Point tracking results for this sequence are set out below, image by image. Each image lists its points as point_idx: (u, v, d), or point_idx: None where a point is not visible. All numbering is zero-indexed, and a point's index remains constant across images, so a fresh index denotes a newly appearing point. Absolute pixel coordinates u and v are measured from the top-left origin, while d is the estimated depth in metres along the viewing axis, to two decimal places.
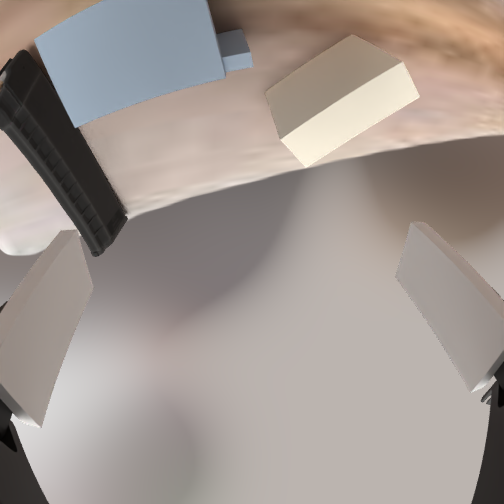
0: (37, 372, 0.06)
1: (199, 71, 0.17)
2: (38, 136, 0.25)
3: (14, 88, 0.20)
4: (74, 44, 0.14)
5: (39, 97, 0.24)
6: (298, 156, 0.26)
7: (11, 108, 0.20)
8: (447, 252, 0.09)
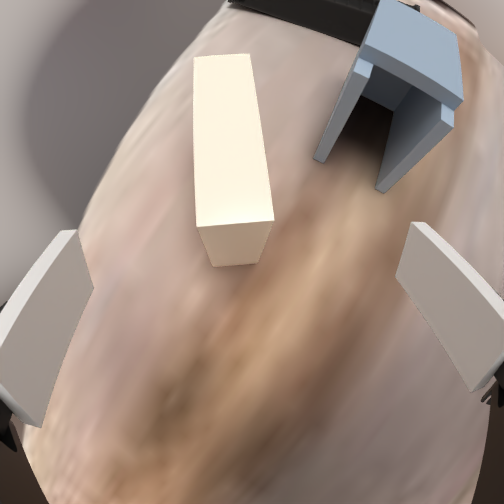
0: (37, 372, 0.06)
1: (379, 39, 0.17)
2: (367, 7, 0.28)
3: None
4: (439, 34, 0.18)
5: None
6: (214, 57, 0.18)
7: None
8: (447, 252, 0.09)
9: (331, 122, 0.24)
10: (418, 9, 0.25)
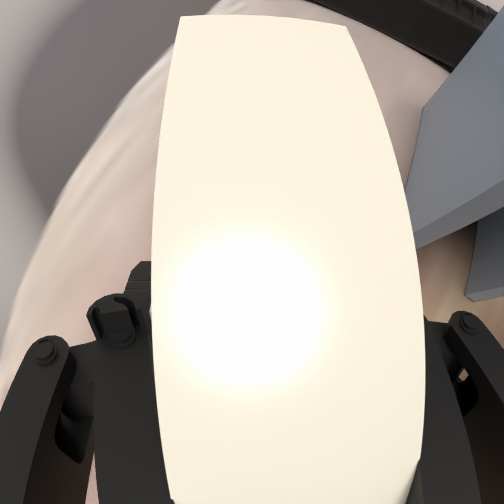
0: None
1: None
2: (449, 5, 0.16)
3: None
4: None
5: (465, 47, 0.19)
6: (245, 18, 0.05)
7: None
8: None
9: (457, 210, 0.11)
10: None
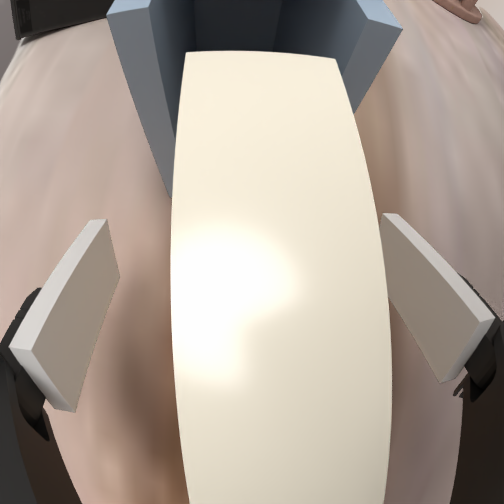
0: (72, 356, 0.07)
1: None
2: None
3: None
4: None
5: None
6: (244, 55, 0.07)
7: None
8: (416, 242, 0.10)
9: (149, 136, 0.12)
10: None
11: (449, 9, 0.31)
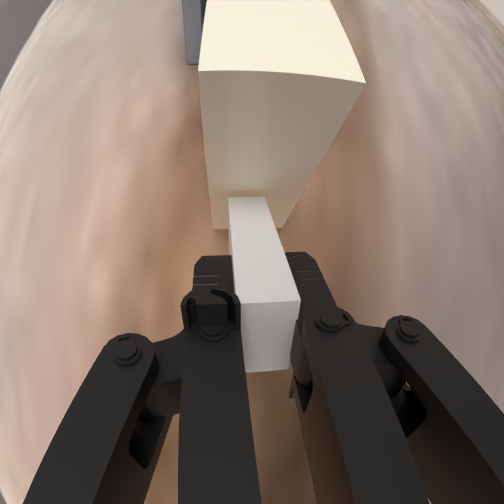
0: None
1: None
2: None
3: None
4: None
5: None
6: None
7: None
8: (258, 221, 0.10)
9: None
10: None
11: None
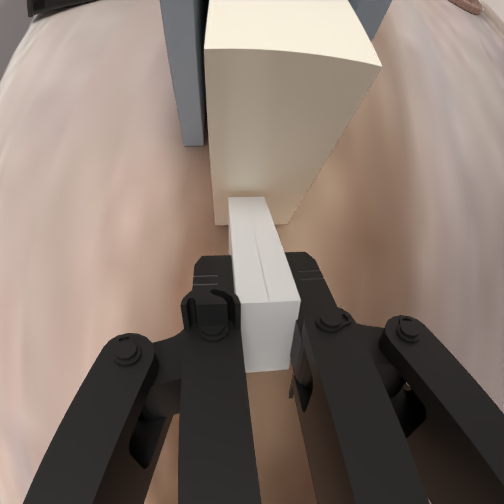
0: None
1: None
2: None
3: None
4: None
5: None
6: None
7: None
8: (257, 221, 0.10)
9: (173, 71, 0.11)
10: None
11: (450, 0, 0.30)
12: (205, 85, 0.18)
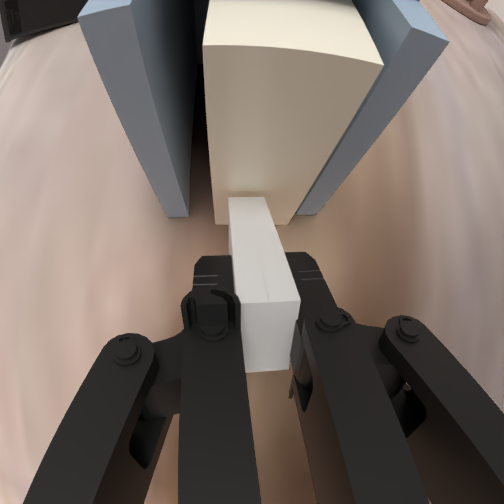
0: None
1: None
2: None
3: None
4: None
5: None
6: None
7: None
8: (258, 221, 0.10)
9: (141, 158, 0.10)
10: None
11: (458, 10, 0.29)
12: (189, 141, 0.17)
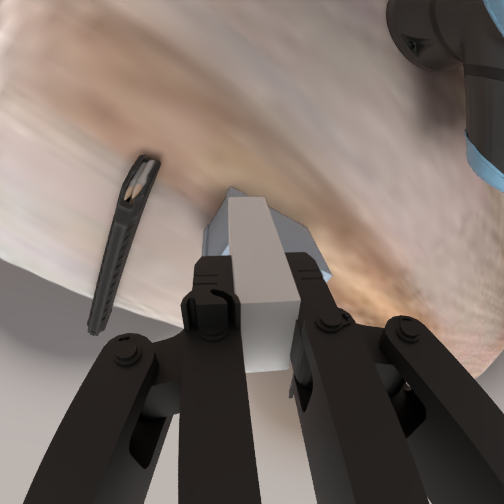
0: None
1: None
2: (126, 241, 0.38)
3: (143, 200, 0.35)
4: None
5: (142, 209, 0.40)
6: None
7: (133, 215, 0.35)
8: (257, 221, 0.10)
9: None
10: (130, 210, 0.32)
11: None
12: None
